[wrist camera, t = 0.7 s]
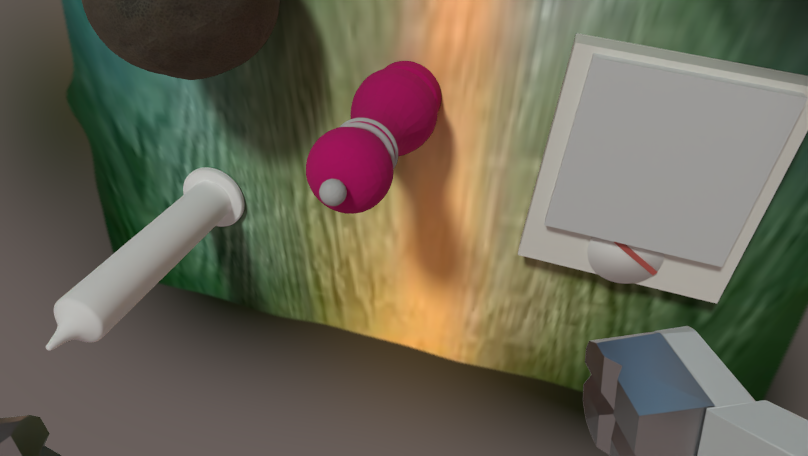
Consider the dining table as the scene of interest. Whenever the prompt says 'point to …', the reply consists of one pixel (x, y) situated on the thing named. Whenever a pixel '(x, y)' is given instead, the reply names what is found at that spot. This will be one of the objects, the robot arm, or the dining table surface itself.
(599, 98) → the kitchen scale
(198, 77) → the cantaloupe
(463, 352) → the dining table surface
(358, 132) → the pepper mill
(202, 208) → the candle
